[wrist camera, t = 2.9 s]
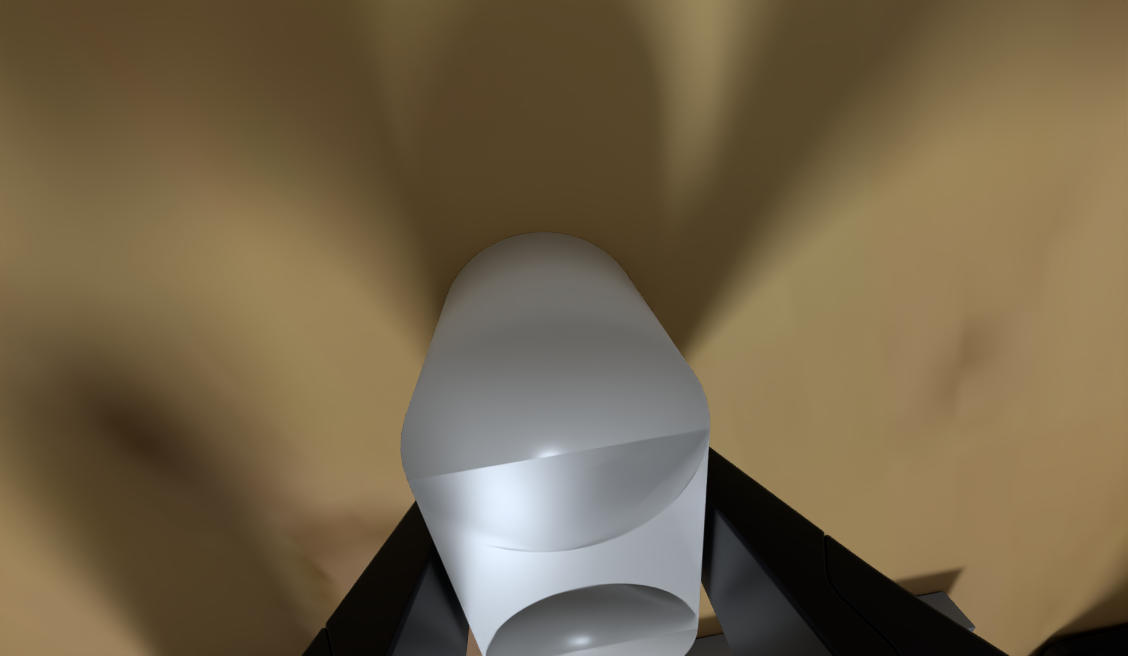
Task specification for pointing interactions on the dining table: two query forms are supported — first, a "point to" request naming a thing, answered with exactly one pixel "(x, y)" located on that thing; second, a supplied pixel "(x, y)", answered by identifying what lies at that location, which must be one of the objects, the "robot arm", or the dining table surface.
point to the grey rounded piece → (561, 456)
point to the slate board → (716, 652)
